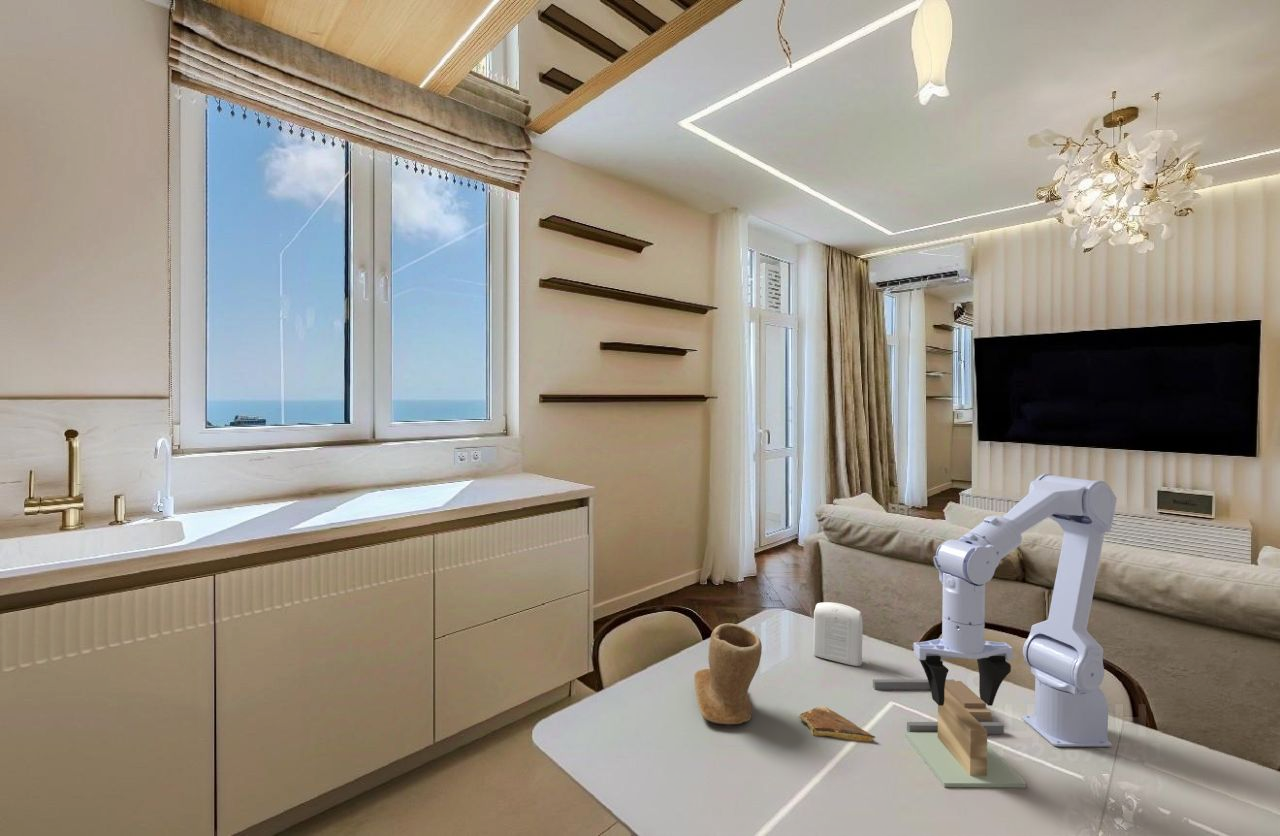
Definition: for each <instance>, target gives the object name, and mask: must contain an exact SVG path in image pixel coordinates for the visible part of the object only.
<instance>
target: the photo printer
mask: <svg viewBox="0 0 1280 836" xmlns="http://www.w3.org/2000/svg"><path fill="white" fill-rule="evenodd" d="M863 622H864V621H863V617H862V612H861V610H858V609H857V608H855V607H852V606H850V605H846V604H843V603H839V602H831V601H829V602H828V601H827V602H825V601H824V602H818V603H816V604H815V609H814V611H813V639H812V640H813V641H812V642H813V643H812V644H813V646H812V647H813V650H812V652H813V653H812V654H813V656H815V657H818V658H821V659H824V660H825V659H826V660H829V661H833V662H837V663H842V664H844V665H850V666H853V667H860V666H861V665H862V662H863V627H864V626H863Z"/></svg>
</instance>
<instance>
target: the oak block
mask: <svg viewBox="0 0 1280 836" xmlns="http://www.w3.org/2000/svg"><path fill="white" fill-rule="evenodd" d="M937 722H938V739H939V740H940V741H941V742H942V743H943V745H944V746H945V747H946V748H947V749H948V750H949V752H950V753H951V754H952V755H953V756H954V758H955V759H956V760H957V761H958V762H959V763H960V765H961V766H962V767H963V768H964V769H965V770H966V772H967V773H968V774H969V775H970V776H987V744H988V734H987V730H986V729H985V728H984V727H983V726H982V725H981V724H980V723H979V722H978V721H977V720H976V719H975V718H974V717H973V716H972V715H971V714H970V713H969V712H968V711H967V710H966V709H965V708H964V707H963V706H962V705H961V704H960V703H959V702H958V701H957V700H956V699H955V698H954V697H944V705H943V706H939V705H938V704H937Z"/></svg>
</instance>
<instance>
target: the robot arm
mask: <svg viewBox="0 0 1280 836" xmlns="http://www.w3.org/2000/svg"><path fill="white" fill-rule="evenodd" d="M1116 503H1117V497H1116V495H1115V493H1114V491H1113V490H1112V488H1111V486H1110V485H1109V483H1107V482H1106V481H1103V480H1099V479H1097V480H1092V479H1083V478H1075V477H1067V476H1060V475H1053V474H1051V473H1050V474H1049V473H1041V474H1040V475H1038V476H1037V478H1036V479H1033V481H1031V482H1030V483H1029V488H1028V494H1027V495H1025V496H1024V497H1023V498H1022V499H1021V500H1020V501H1019V502H1018V503H1016V504H1015V505H1014V506H1013V507H1012V508H1011V509H1010V510H1009V511H1008V512H1006V513H1005V514H1004V515H1003V516H999V515H991V516H990V515H987V516H986V517H985V518H983V521H982V522H981V523H979V524H978V525H976V526H975V527H974V528H971V530H969V531H968V532H966V533H965V534H964V535H962V536H961V537H960V538H959V539H947V540H945V541H944V542H942V543H940V545H939V546H938V547H937V548H936V552H935V556H933V558H932V559H933V564H934V566H935V568H936V569H937V571H938V576H939V577H938V578H939V579H938V580H939V581H940V583H941V584H942V600H941V601H942V602H941V603H942V611H941V612H942V615H941V617H942V619H941V620H942V621H941V623H942V625H941V632H942V633H941V638H936V639H935V638H934V639H931V640H926V641H920V642H918V641H917V642H916V641H915V642H913V656H915V657H916V658H917V659H918V660H919V663H920V664H921V666H922V669H923V670H924V673H925V675H926V679H928V682H929V685H930V689H931V690H930V692H931V699H932V701H934V702H935V703H936V704H937V706H938V705H939V706H943V705H944V688H945V681H946V680H947V676H948V672H949V670H950V669H948V668H947V666H945V665H944V661H943V660H942V659H967V660H976V661H977V667H978V675H979V677H978V678H979V681H978V682H979V683H978V684H979V690H978V691H979V698H980V699H982V700H983V701H984V702H985V703H986V706H991V707H992V706H993V704H994V702H995V699H996V695H997V693H998V691H999V688H1000V687H1001V684H1002V683H1003V681H1004V679H1005V678H1006V677H1007V676H1008V675H1009V674H1010V673H1012V665H1011V664H1010V663H1009V662H1008V661H1012V660H1014V648H1013V647H1012V646H1011V645H1009V644H1008V643H1006V642H1005V641H1003V642H1002V641H990V640H985V626H986V625H985V623H986V621H985V615H986V614H985V611H986V610H985V609H986V606H985V603H986V583H987V582H988V583H989V582H990V581H991V580H992V578H993V577H994V575H995V571H996V569H997V568H998V567H999V566H1000V565H999V564H1000V563H1001V562H1000V560H1003V558H1005V557H1006V556H1007V555H1009V554H1010V553H1011V552H1012V551H1014V550H1015V549H1016V548H1017V547H1019V546H1020V545H1021V544H1022V541H1023V538H1022V537H1023V535H1022V534H1023V533H1025V532H1026V531H1028V530H1030V529H1031V528H1033V527H1035V526H1036V525H1039V523H1041V522H1042V521H1044V520H1046V519H1047V518H1050V519H1051V520H1052V521H1054V522H1056V523H1057V524H1058V526H1060V528H1061V529H1062V531H1063V538H1062V544H1061V548H1060V554H1059V559H1058V564H1057V570H1056V577H1055V580H1054V584H1053V585H1054V586H1053V590H1052V597H1051V600H1050V606H1049V611H1048V618H1047V619H1046V620H1044V621H1041V622H1037V623H1035V624H1032V625H1031V628H1030V632H1029V634H1028V637H1027V638H1026V640H1025V642H1024V644H1023V648H1022V655H1023V659H1024V663H1026V665H1027V666H1029V667H1030V673H1031V674H1032V675H1034V678H1035V679H1034V681H1035V682H1034V683H1035V684H1034V685H1035V686H1034V714H1033V715H1028V714H1026V715H1022V716H1021V719H1022V720H1024V722H1026V724H1028V725H1029V726H1030V727H1031V728H1033V729H1034V730H1035V731H1037V732H1038V734H1039V735H1040V736H1042V737H1043V738H1045V740H1047V741H1048V742H1049V743H1050V744H1052V746H1055V747H1105V748H1106V747H1112V746H1113V744H1112V742H1111V741H1110V740H1109V739H1108V736H1109V735H1108V733H1109V732H1108V729H1109V728H1108V727H1109V706H1108V705H1109V704H1108V700H1107V698H1106V695H1105V693H1104V691H1103V690H1102V689H1101V688H1100V686H1101V684H1103V683H1102V682H1103V681H1104V678H1105V669H1104V668H1105V666H1104V662H1103V659H1104V651H1105V650H1104V648H1103V647H1102V646H1101V644H1099V642H1098V641H1096V639H1095V638H1094V637H1093V636H1092V635H1091V634H1090V633H1089V632H1088V624H1089V619H1090V615H1091V613H1090V612H1091V608H1092V603H1093V597H1094V591H1095V586H1096V581H1097V577H1098V571H1099V565H1100V559H1101V555H1102V554H1101V553H1102V549H1103V544H1104V538H1105V534H1106V533H1109V532H1111V530H1112V527H1113V526H1112V524H1113V522H1114V515H1115V510H1116V505H1117V504H1116ZM1006 660H1007V661H1006Z"/></svg>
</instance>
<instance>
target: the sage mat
mask: <svg viewBox="0 0 1280 836" xmlns="http://www.w3.org/2000/svg"><path fill="white" fill-rule="evenodd" d="M904 734H905V738H906V739H907V740H908V741H909V743H910V744H911V745H912V747H913V748H914V749H915V751H916V752H917V754H918V755H919V756H920V758H921V759H922V760H923V761H924V763H925V764H926V765H927V767H929V769H930V770H931V771H932V772H931V773H933V774H934V775H935V777H936V778H937V780H938V781H939V782H940V784H941V785H942V786H943V788H1027V783H1026V782H1025V780H1024V779H1022V778H1021V776H1020V775H1018V773H1016V772H1015V770H1014V769H1013V768H1011V766H1010V765H1008V763H1006V761H1005V760H1004V759H1003V758H1002V757H1001V756H1000V755H999V754H998V753H997V752H996V751H995V750H994V749H993V748H992V747H991V746H990V745H989V744H988V743H987V776H970V775H969V774H968V773H967V772H966V770H965V769H964V768H963V767H962V766H961V765H960V763H959V762H958V761H957V760H956V759H955V758H954V756H953V755H952V754H951V753H950V752H949V750H948V749H947V748H946V747H945V746H944V745H943V743H942V742H941V741H940V740H939V739H938V732H908V731H907V732H905V733H904Z"/></svg>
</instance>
